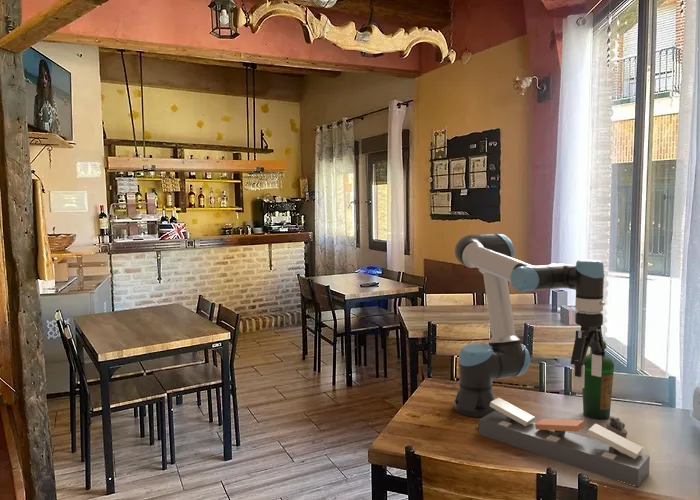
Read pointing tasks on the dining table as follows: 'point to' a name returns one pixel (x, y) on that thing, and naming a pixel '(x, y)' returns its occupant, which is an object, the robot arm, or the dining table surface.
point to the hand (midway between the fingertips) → (587, 381)
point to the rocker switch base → (566, 448)
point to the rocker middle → (560, 425)
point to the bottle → (598, 388)
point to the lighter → (616, 426)
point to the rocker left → (512, 411)
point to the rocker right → (615, 441)
